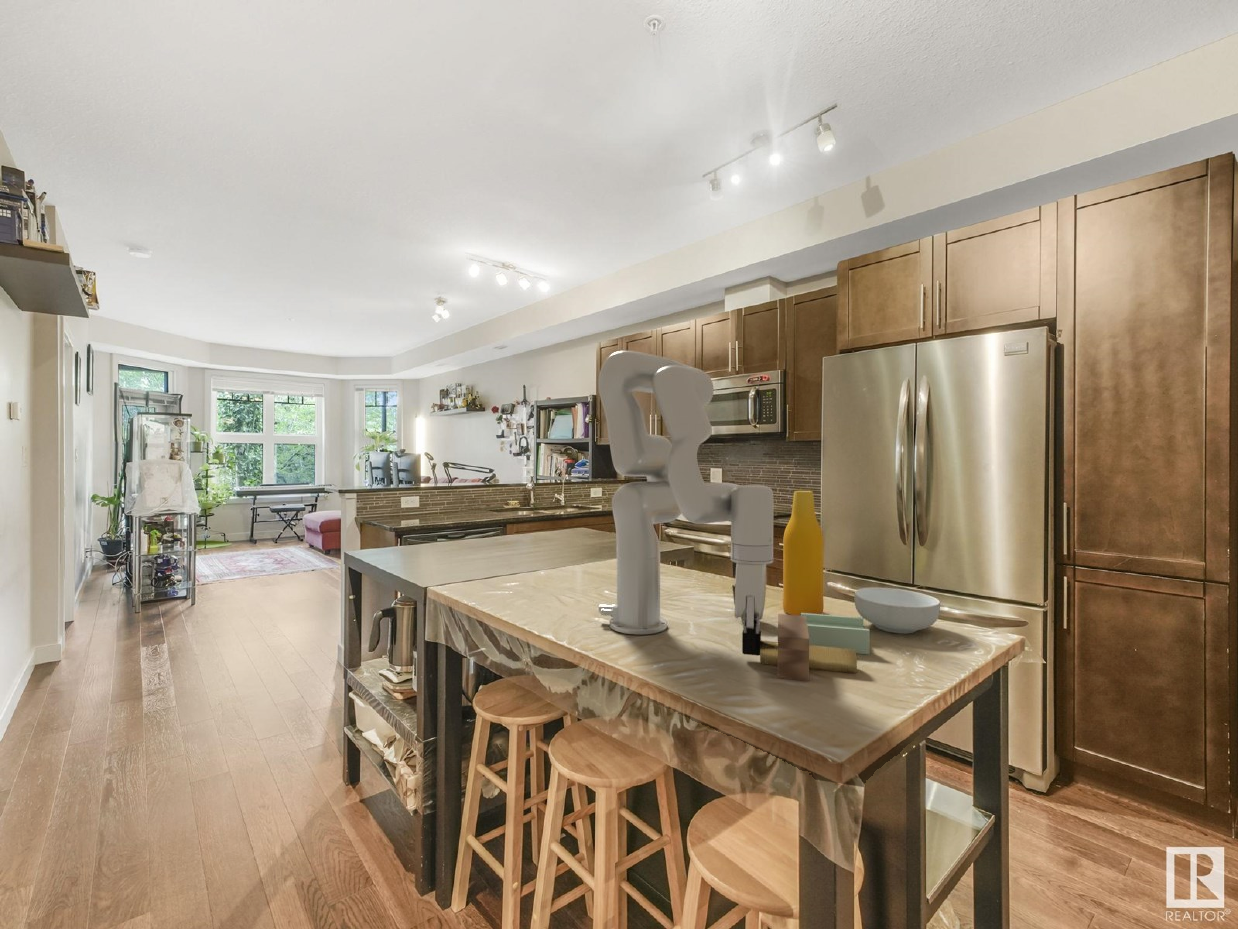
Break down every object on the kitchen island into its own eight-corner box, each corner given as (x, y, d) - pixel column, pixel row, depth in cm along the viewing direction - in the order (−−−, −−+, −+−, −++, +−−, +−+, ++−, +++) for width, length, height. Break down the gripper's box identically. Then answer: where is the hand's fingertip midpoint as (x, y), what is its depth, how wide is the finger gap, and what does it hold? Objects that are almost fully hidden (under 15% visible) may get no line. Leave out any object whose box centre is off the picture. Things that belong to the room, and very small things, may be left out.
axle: (760, 667, 100) (760, 645, 100) (760, 658, 104) (761, 637, 104) (856, 677, 95) (857, 654, 95) (853, 667, 99) (854, 645, 99)
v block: (802, 648, 109) (802, 625, 109) (800, 634, 117) (800, 612, 117) (869, 654, 105) (869, 630, 105) (862, 639, 114) (862, 617, 114)
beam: (777, 677, 94) (777, 636, 94) (778, 650, 108) (778, 614, 107) (808, 681, 93) (809, 639, 93) (805, 652, 106) (805, 616, 106)
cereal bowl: (912, 646, 110) (912, 610, 110) (838, 625, 124) (838, 593, 124) (955, 631, 120) (955, 598, 119) (882, 613, 133) (882, 583, 133)
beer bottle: (811, 606, 139) (812, 490, 139) (831, 617, 130) (831, 492, 130) (776, 608, 138) (776, 490, 137) (793, 618, 129) (794, 492, 128)
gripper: (734, 546, 110) (734, 639, 110) (727, 559, 96) (726, 666, 96) (773, 547, 108) (773, 642, 108) (772, 561, 94) (772, 670, 94)
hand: (751, 653), depth 102 cm, fingers closed
